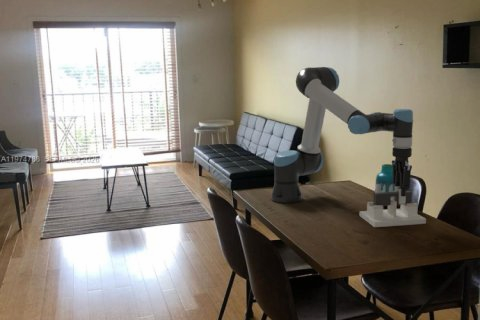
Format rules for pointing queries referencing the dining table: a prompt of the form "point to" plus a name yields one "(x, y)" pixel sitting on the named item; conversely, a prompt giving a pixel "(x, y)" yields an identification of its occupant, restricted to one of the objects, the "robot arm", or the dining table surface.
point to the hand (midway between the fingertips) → (400, 202)
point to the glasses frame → (385, 198)
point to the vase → (385, 180)
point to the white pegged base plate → (392, 215)
